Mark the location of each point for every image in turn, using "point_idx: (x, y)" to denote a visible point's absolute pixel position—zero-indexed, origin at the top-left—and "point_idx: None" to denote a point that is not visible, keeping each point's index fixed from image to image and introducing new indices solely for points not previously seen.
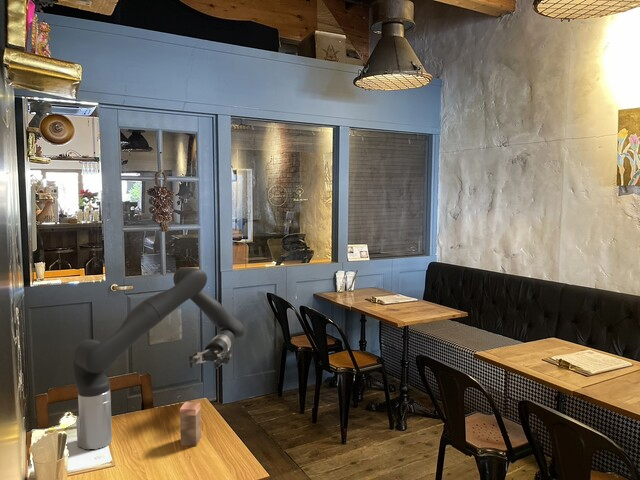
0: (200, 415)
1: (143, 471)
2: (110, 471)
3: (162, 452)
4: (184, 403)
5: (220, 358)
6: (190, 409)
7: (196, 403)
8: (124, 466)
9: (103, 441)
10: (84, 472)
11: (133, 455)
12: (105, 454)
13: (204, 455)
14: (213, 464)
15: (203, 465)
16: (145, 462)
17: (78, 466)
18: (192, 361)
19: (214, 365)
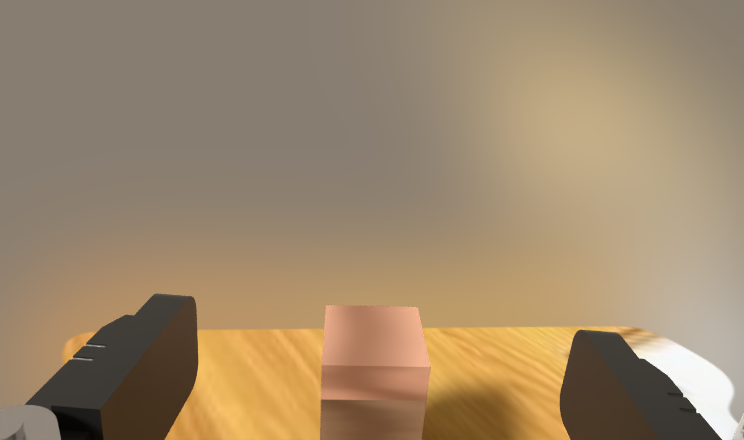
0: (320, 436)
1: (454, 337)
2: (554, 336)
3: (457, 423)
4: (425, 354)
5: (25, 413)
6: (356, 306)
7: (344, 354)
8: (533, 354)
9: (741, 422)
10: (625, 332)
11: (557, 403)
12: None
13: (271, 410)
14: (228, 366)
15: (265, 362)
16: (480, 371)
17: (676, 352)
18: (604, 344)
19: (196, 327)
